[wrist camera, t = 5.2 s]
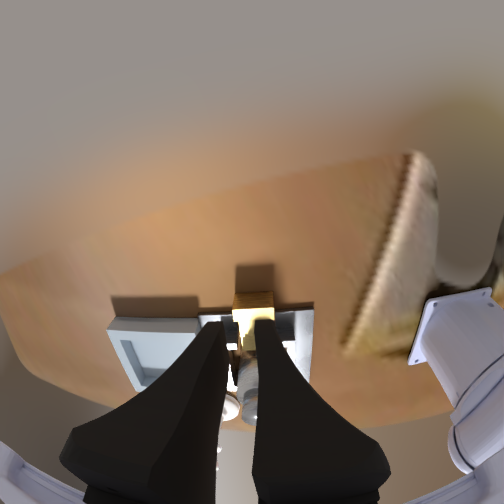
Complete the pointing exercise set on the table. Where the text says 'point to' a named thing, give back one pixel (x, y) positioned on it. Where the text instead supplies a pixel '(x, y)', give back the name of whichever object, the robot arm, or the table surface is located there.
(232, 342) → the socket
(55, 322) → the table surface
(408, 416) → the table surface
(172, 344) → the tray
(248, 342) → the tan stepped block
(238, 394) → the stepped metal cylinder
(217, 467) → the chess piece
